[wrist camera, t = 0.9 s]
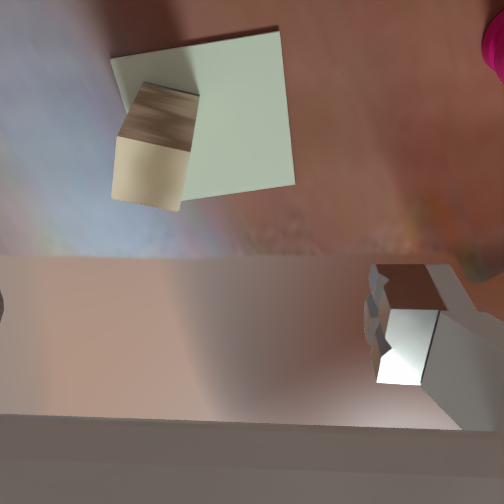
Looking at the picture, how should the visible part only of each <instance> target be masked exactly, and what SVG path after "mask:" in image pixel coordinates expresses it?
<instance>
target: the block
mask: <svg viewBox="0 0 504 504" xmlns="http://www.w3.org/2000/svg"><path fill="white" fill-rule="evenodd" d="M199 98H200V95H198V94H194V93H190V92H186V91H182V90H178V89H173V88H169V87H165V86H161V85H157V84H153V83H149V82H145V81H143V83H142V85H141V87H140V90H139V92H138V94H137V96H136V98H135V100H134V102H133V104H132V106H131V108H130V110H129V112H128V114H127V116H126V118H125V121H124V123H123V125H122V127H121V129H120V131H119V133H118V135H117V141H116V152H115V163H114V174H113V184H112V195H111V199H116V200H121V201H126V202H131V203H136V204H141V205H146V206H151V207H156V208H161V209H166V210H171V211H176V212H179V209H180V204H181V199H182V193H183V188H184V183H185V178H186V173H187V168H188V163H189V158H190V153H191V147H192V141H193V135H194V128H195V122H196V116H197V110H198V104H199Z"/></svg>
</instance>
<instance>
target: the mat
mask: <svg viewBox="0 0 504 504" xmlns="http://www.w3.org/2000/svg"><path fill="white" fill-rule="evenodd" d="M110 62H111V65H112V68H113V71H114V75H115V78H116V81H117V84H118V87H119V90H120V94H121V97H122V100H123V103H124V106H125V109H126V112H127V114H128V112H129V110H130V108H131V106H132V104H133V102H134V100H135V98H136V96H137V94H138V92H139V90H140V87H141V85H142V83H143V81H145V82H149V83H153V84H157V85H161V86H165V87H169V88H173V89H178V90H182V91H186V92H190V93H194V94H198V95H200V98H199V104H198V110H197V116H196V122H195V128H194V135H193V141H192V147H191V153H190V158H189V163H188V168H187V173H186V178H185V183H184V188H183V193H182V199H181V201H183V200H190V199H197V198H204V197H211V196H218V195H225V194H232V193H239V192H246V191H252V190H259V189H266V188H273V187H280V186H287V185H294V184H295V179H294V169H293V159H292V149H291V139H290V129H289V119H288V109H287V100H286V90H285V80H284V70H283V60H282V50H281V40H280V31H274V32H268V33H262V34H256V35H250V36H244V37H238V38H232V39H226V40H220V41H213V42H207V43H201V44H195V45H189V46H183V47H177V48H171V49H165V50H159V51H153V52H147V53H141V54H135V55H129V56H123V57H117V58H111V59H110Z"/></svg>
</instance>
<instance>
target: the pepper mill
mask: <svg viewBox="0 0 504 504" xmlns="http://www.w3.org/2000/svg"><path fill="white" fill-rule="evenodd" d="M482 55H483V58H484V61H485V62H486V64H487V65H488V66H489V67H490V68H491V69H493V70H494V71H496V73H497V76H498V77H499V79H500V80H501V82H503V83H504V10H503V11H502V12H501V13H499V14H498V15H497V16H496V17H495V18H494V20H493V21H492V22H491V24H490V25H489V27H488V28H487V30H486V32H485V35H484V38H483V42H482Z"/></svg>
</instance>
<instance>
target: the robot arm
mask: <svg viewBox="0 0 504 504" xmlns="http://www.w3.org/2000/svg"><path fill="white" fill-rule="evenodd" d="M369 285H370V288H371V292H372V293H371V294H370V295H369V296H368V297H367V298H366V301H365V309H364V328H365V335H366V340H367V343H368V344H369V345H371V346H372V353H371V361H372V365H373V369H374V373H375V377H376V381H377V383H394V384H411V385H421V388H422V389H423V390H424V391H425V392H426V393H427V394H428V395H429V396H430V397H431V398H432V399H433V400H434V401H435V402H436V403H437V404H438V405H439V406H440V407H441V408H442V409H443V410H444V411H445V412H446V413H447V414H448V415H449V416H450V417H451V418H452V419H453V420H454V421H455V422H456V423H457V425H458V426H459V427H460V428H462V430H439V429H411V428H378V427H352V426H325V425H298V424H270V423H244V422H243V423H242V422H217V421H189V420H163V419H135V418H106V417H105V418H104V417H76V416H75V417H74V416H48V415H19V414H0V504H504V323H503V322H501V321H500V320H498V319H497V318H495V317H493V316H491V315H490V314H488V313H486V312H478V311H477V309H476V308H475V306H474V304H473V303H472V301H471V300H470V298H469V296H468V295H467V293H466V291H465V290H464V288H463V286H462V284H461V283H460V281H459V280H458V278H457V276H456V274H455V273H454V271H453V270H452V268H451V266H450V265H448V264H373V265H372V267H371V270H370V275H369ZM3 311H4V303H3V297H2V294H1V291H0V322H1V318H2V315H3Z"/></svg>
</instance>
